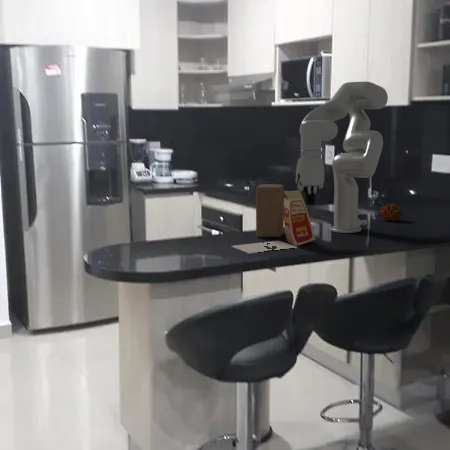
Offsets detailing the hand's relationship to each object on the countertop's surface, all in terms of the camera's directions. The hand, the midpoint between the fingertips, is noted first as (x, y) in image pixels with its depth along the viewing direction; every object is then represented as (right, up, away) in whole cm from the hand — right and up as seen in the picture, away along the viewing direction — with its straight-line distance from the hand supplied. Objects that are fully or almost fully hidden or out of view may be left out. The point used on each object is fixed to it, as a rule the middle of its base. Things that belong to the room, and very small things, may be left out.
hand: (310, 204), depth 239 cm
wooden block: (-14, -12, +17) cm, 25 cm away
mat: (-17, -16, -5) cm, 24 cm away
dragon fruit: (+42, -6, +47) cm, 63 cm away
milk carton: (-3, -14, +1) cm, 14 cm away
